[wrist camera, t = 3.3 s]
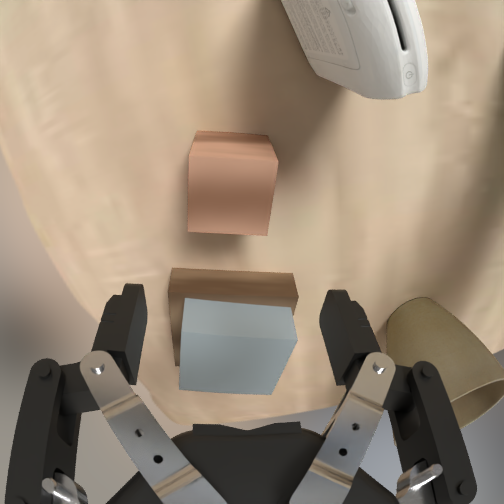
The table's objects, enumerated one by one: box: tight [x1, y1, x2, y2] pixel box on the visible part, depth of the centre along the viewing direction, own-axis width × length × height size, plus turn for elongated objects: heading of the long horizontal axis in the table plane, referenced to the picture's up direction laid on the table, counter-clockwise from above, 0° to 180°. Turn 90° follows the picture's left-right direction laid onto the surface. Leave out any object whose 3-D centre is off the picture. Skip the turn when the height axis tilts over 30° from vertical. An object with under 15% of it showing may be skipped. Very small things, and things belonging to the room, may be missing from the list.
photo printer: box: [281, 0, 428, 99], centre depth 14 cm, size 10×4×12 cm, turn 23°
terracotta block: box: [188, 131, 279, 236], centre depth 23 cm, size 6×6×6 cm
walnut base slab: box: [168, 268, 299, 366], centre depth 35 cm, size 12×12×4 cm
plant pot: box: [387, 298, 504, 446], centre depth 33 cm, size 15×15×16 cm
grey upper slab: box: [179, 298, 298, 395], centre depth 31 cm, size 10×10×4 cm
